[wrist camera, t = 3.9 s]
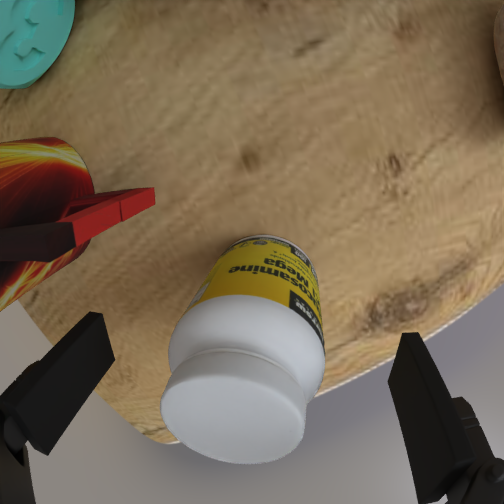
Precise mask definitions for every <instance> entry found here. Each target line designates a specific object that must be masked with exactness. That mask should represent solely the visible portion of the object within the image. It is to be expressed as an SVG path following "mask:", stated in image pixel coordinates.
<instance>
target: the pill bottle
mask: <svg viewBox="0 0 504 504" xmlns="http://www.w3.org/2000/svg"><path fill="white" fill-rule="evenodd" d="M168 356H169V365H170V369H171V373H172V375H171V377H170V379H169V381H168V383H167V386H166V388H165V390H164V392H163V395H162V397H161V401H160V412H161V416H162V419H163V421H164V423H165V425H166V427H167V428H168V429H169V431H170V432H171V433H172V434H173V435H174V436H175V437H176V438H177V439H178V440H179V441H181V442H182V443H183V444H185V445H186V446H188V447H189V448H191V449H193V450H194V451H196V452H198V453H200V454H202V455H205V456H207V457H210V458H213V459H216V460H220V461H224V462H230V463H237V464H258V463H265V462H270V461H274V460H277V459H280V458H281V457H284V456H286V455H287V454H289V453H290V452H291V451H293V450H294V449H295V448H296V447H297V446H298V445H299V443H300V442H301V440H302V438H303V434H304V430H305V416H306V405H307V404H308V403H309V402H310V401H311V400H312V398H313V397H314V396H315V394H316V393H317V391H318V389H319V387H320V385H321V383H322V380H323V375H324V369H325V349H324V339H323V329H322V318H321V308H320V297H319V288H318V280H317V276H316V272H315V269H314V267H313V264H312V263H311V261H310V259H309V258H308V256H307V255H306V254H305V253H304V252H303V251H302V250H301V249H300V248H299V247H298V246H296V245H295V244H293V243H292V242H290V241H288V240H286V239H283V238H281V237H277V236H273V235H255V236H250V237H246V238H244V239H241V240H239V241H237V242H236V243H234V244H233V245H231V246H230V247H229V248H228V249H227V250H226V251H225V252H224V253H223V254H222V255H221V256H220V258H219V259H218V260H217V262H216V264H215V265H214V267H213V268H212V270H211V271H210V273H209V274H208V276H207V278H206V279H205V281H204V282H203V284H202V285H201V287H200V289H199V290H198V292H197V293H196V295H195V296H194V298H193V300H192V301H191V303H190V304H189V306H188V307H187V309H186V311H185V312H184V314H183V315H182V317H181V318H180V320H179V321H178V323H177V325H176V327H175V329H174V331H173V334H172V336H171V339H170V343H169V350H168Z"/></svg>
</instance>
